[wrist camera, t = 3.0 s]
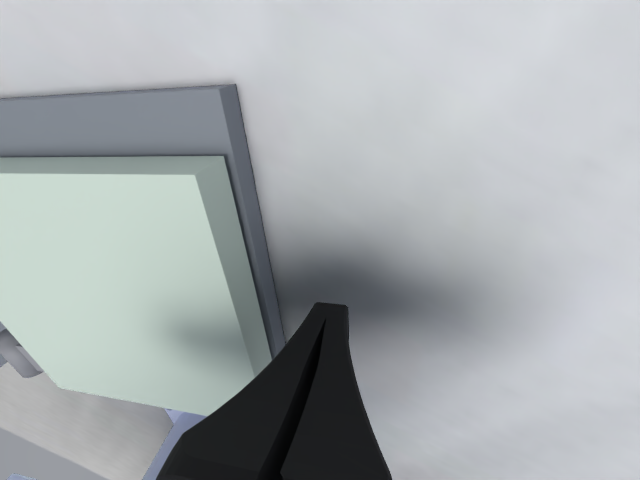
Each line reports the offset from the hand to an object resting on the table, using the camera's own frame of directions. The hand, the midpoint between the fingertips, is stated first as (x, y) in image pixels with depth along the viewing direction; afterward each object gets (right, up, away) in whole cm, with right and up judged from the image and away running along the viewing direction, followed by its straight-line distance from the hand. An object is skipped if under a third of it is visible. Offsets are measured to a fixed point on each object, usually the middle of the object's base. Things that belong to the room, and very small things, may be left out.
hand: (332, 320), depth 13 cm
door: (-12, +1, +3) cm, 12 cm away
